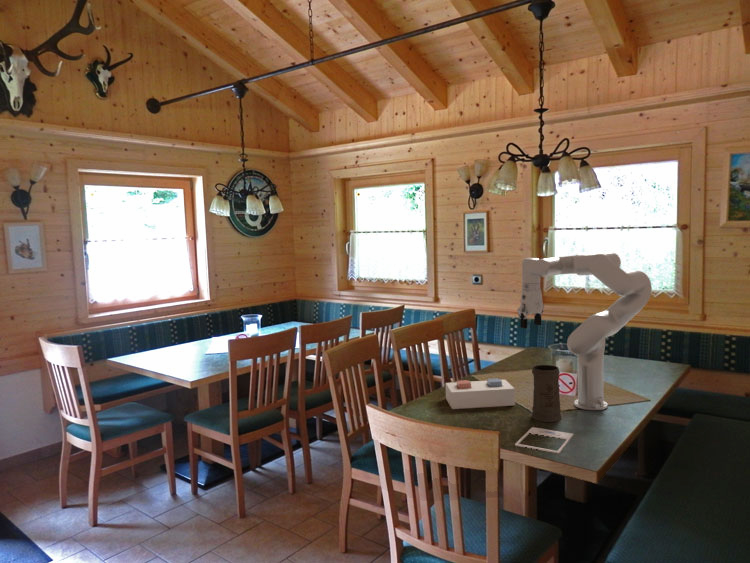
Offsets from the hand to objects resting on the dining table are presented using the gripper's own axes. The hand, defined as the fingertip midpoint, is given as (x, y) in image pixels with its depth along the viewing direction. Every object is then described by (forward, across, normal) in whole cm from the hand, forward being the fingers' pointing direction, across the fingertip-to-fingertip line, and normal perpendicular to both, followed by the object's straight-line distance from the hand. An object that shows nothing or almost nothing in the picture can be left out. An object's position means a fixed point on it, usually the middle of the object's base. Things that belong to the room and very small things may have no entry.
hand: (530, 326), depth 243 cm
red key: (+25, -30, +12) cm, 41 cm away
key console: (+30, -24, +8) cm, 39 cm away
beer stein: (+30, -20, -21) cm, 41 cm away
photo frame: (+30, -41, -36) cm, 62 cm away
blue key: (+25, -19, +4) cm, 32 cm away
